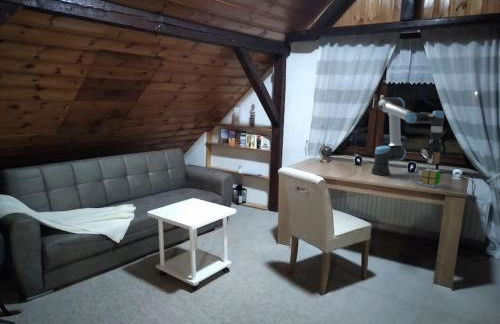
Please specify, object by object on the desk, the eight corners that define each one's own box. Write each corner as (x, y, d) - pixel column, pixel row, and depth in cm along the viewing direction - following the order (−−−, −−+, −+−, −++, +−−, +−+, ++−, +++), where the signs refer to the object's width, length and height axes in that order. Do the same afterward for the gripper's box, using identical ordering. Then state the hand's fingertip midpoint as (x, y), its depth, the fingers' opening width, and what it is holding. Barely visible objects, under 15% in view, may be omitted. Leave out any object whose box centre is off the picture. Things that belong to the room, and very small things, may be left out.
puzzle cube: (425, 180, 277) (426, 168, 275) (439, 183, 270) (440, 170, 268) (421, 183, 270) (422, 170, 268) (435, 185, 263) (436, 172, 261)
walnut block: (426, 162, 267) (427, 152, 266) (431, 161, 270) (432, 151, 269) (434, 164, 262) (435, 153, 261) (439, 163, 265) (440, 152, 264)
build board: (416, 183, 272) (416, 182, 272) (426, 181, 279) (427, 180, 279) (433, 188, 260) (433, 186, 260) (444, 185, 268) (444, 184, 268)
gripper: (433, 133, 254) (430, 164, 258) (448, 131, 264) (444, 162, 268) (424, 132, 260) (420, 162, 265) (438, 130, 270) (435, 160, 274)
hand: (432, 162), depth 266 cm, fingers closed on walnut block, 6 cm apart
